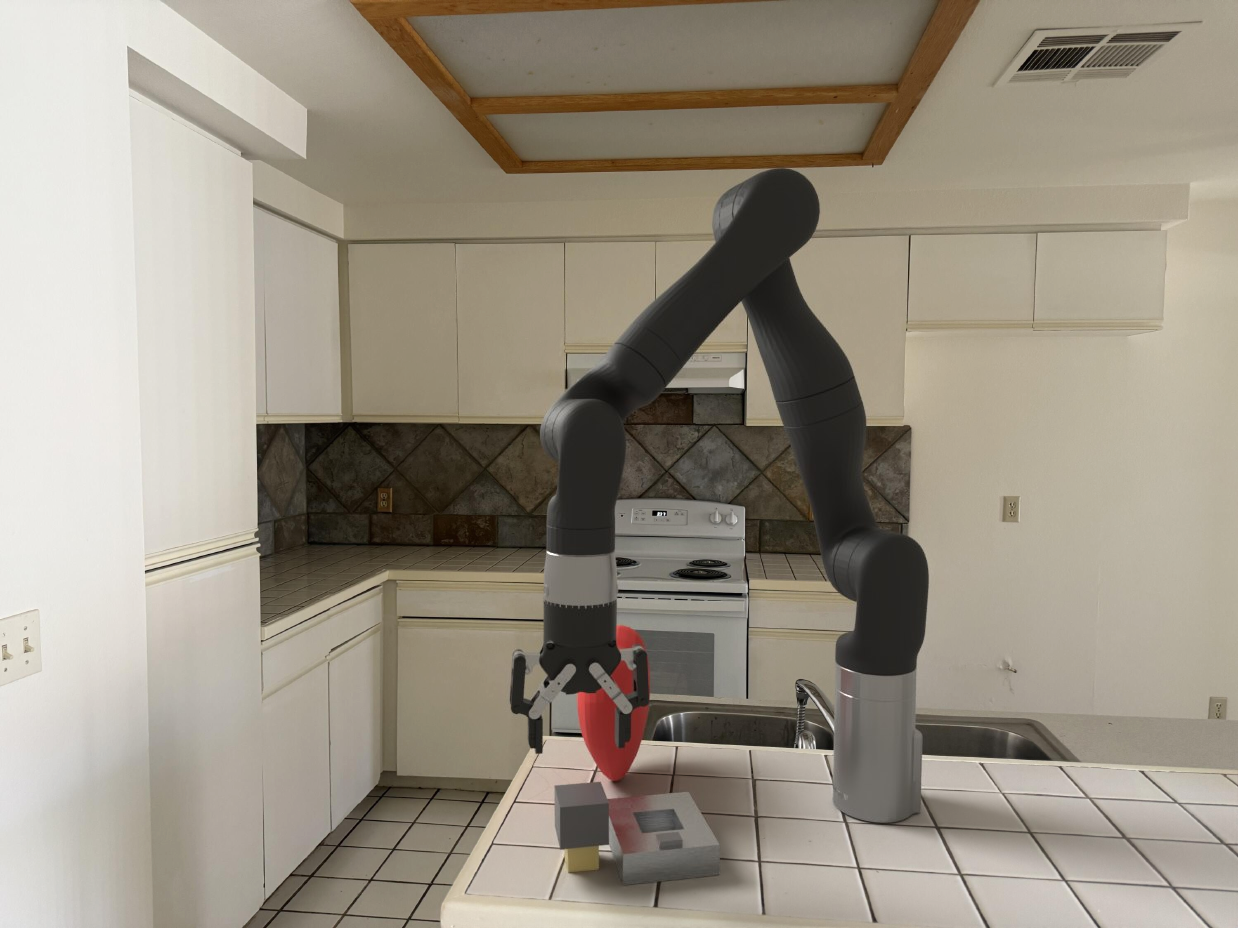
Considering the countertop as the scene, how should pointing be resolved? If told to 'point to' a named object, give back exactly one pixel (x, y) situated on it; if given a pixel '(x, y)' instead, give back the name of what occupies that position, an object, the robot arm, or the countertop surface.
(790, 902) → the countertop surface
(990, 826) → the countertop surface
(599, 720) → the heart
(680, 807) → the socket plate
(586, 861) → the plug
